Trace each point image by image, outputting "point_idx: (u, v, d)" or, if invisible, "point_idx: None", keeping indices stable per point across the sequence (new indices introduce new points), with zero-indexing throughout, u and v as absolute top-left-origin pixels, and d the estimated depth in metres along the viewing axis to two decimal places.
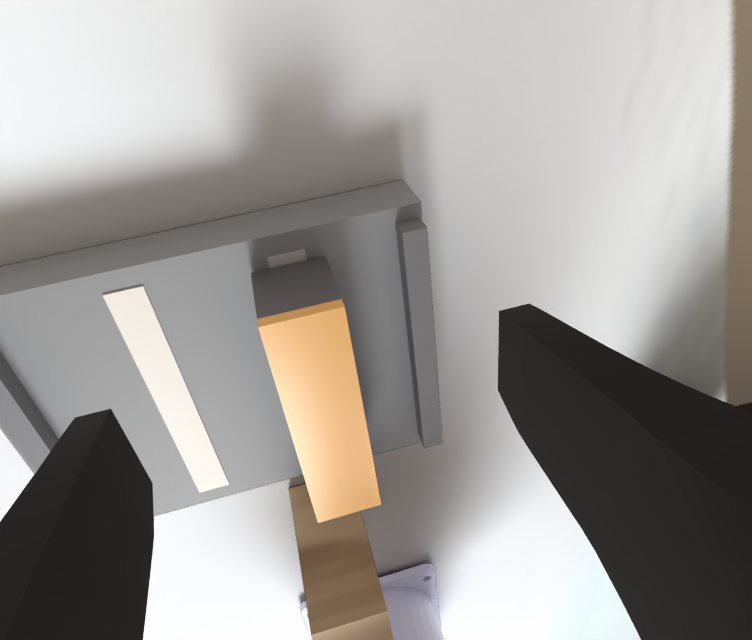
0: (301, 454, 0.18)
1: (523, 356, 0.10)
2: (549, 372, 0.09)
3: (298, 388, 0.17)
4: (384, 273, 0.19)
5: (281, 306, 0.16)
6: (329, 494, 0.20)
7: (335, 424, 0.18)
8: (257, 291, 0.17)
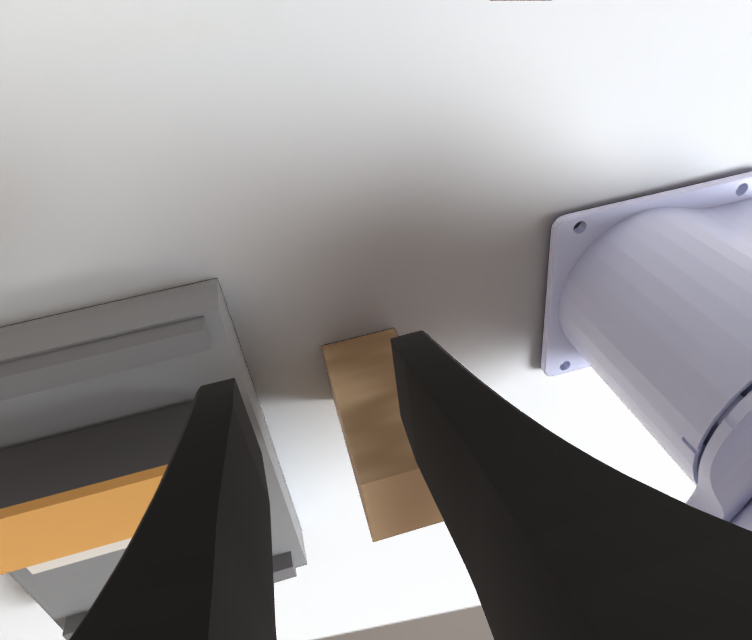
0: (121, 537, 0.18)
1: (408, 386, 0.10)
2: (424, 405, 0.09)
3: (24, 554, 0.18)
4: None
5: None
6: None
7: (75, 522, 0.17)
8: None
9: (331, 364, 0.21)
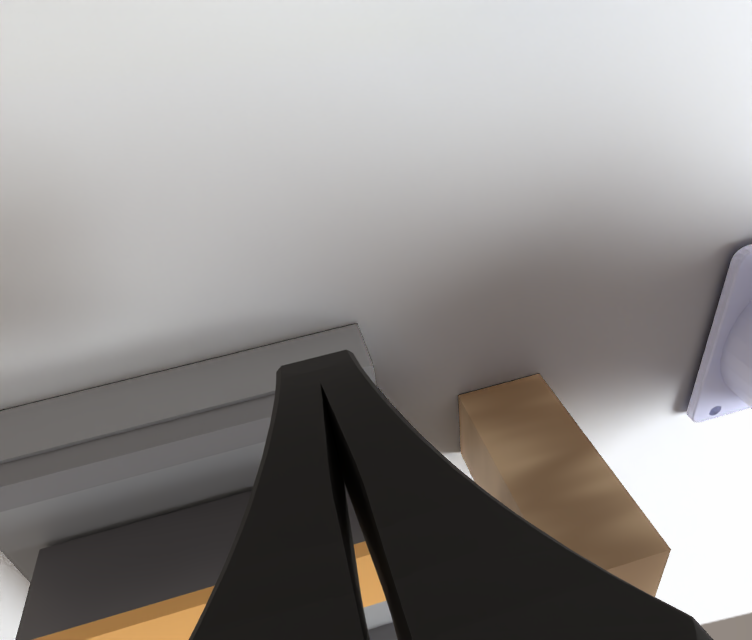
0: None
1: (327, 408, 0.09)
2: (336, 429, 0.09)
3: None
4: None
5: None
6: None
7: None
8: None
9: (476, 419, 0.18)
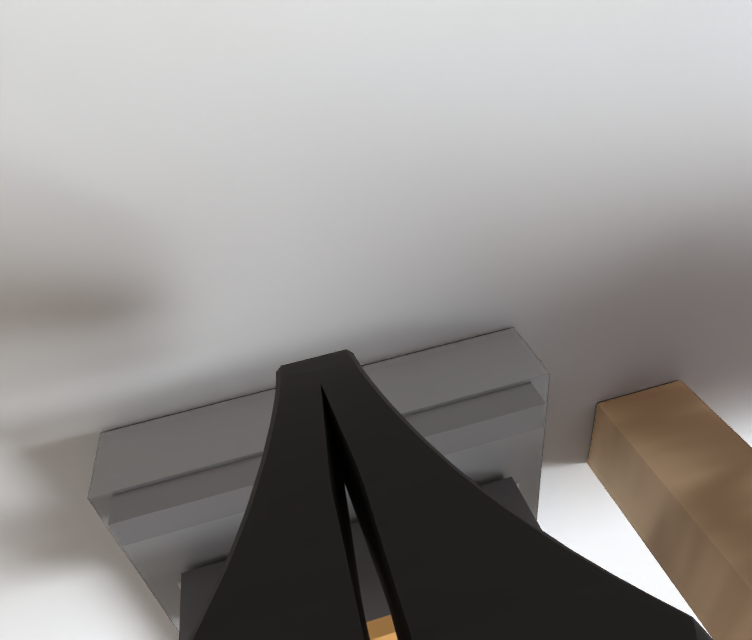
0: None
1: (327, 408, 0.09)
2: (336, 429, 0.09)
3: None
4: None
5: None
6: None
7: None
8: None
9: (625, 429, 0.17)
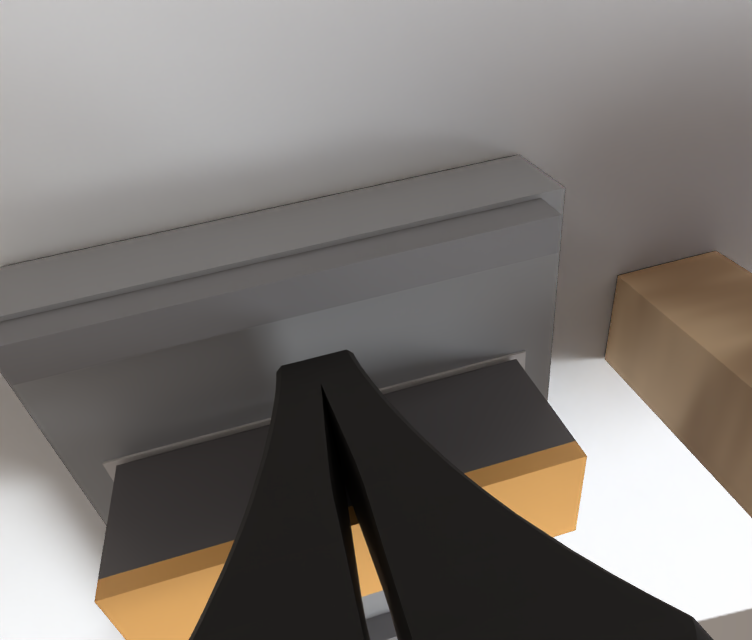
0: None
1: (327, 408, 0.09)
2: (336, 429, 0.09)
3: None
4: (135, 356, 0.11)
5: None
6: None
7: None
8: None
9: (652, 298, 0.14)
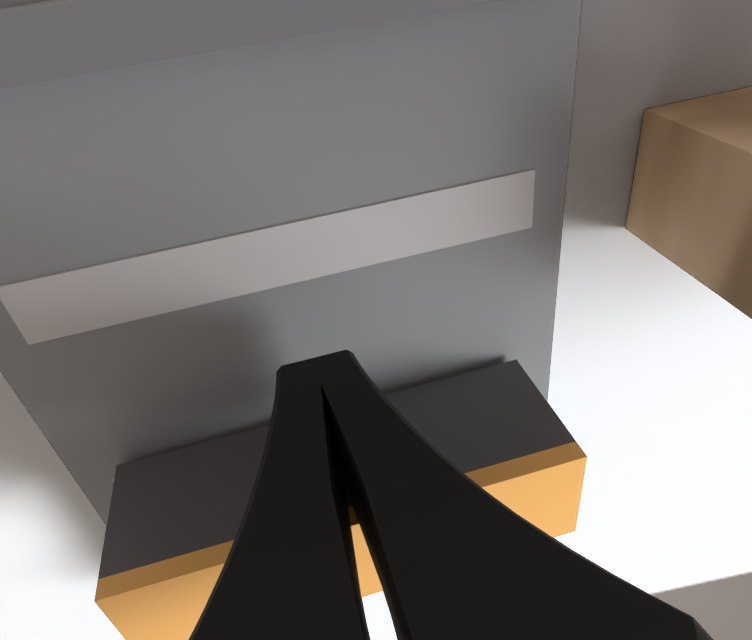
0: None
1: (327, 408, 0.09)
2: (336, 429, 0.09)
3: None
4: (21, 119, 0.08)
5: None
6: None
7: None
8: None
9: (689, 122, 0.12)
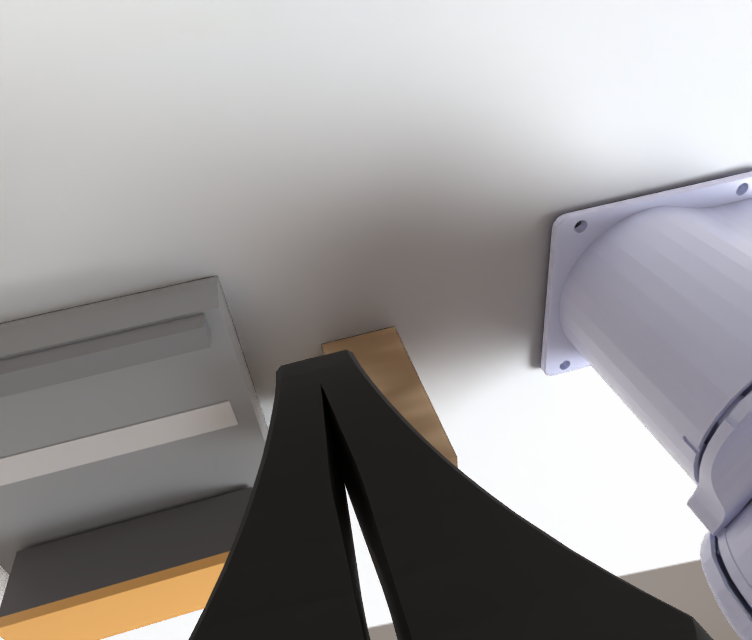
0: (172, 615, 0.21)
1: (327, 408, 0.09)
2: (337, 429, 0.09)
3: (91, 632, 0.20)
4: None
5: None
6: None
7: (135, 605, 0.20)
8: None
9: None
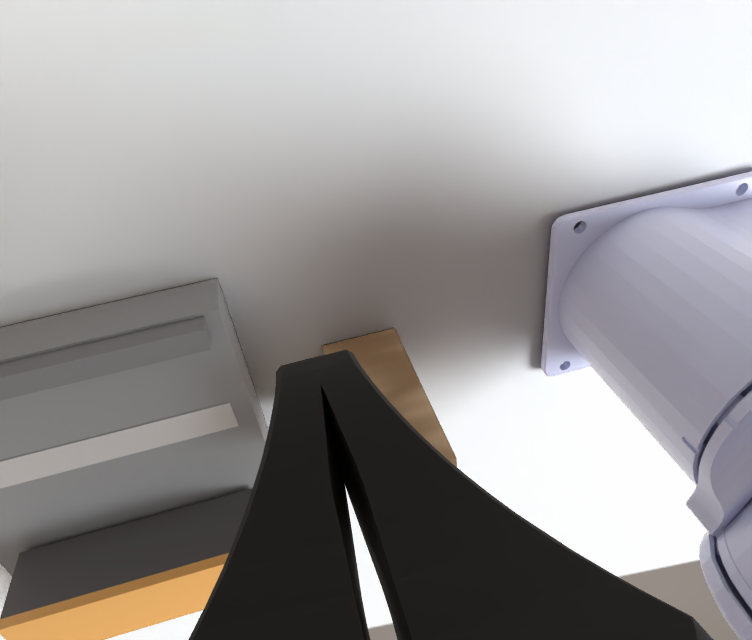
0: (174, 616, 0.21)
1: (327, 408, 0.09)
2: (336, 429, 0.09)
3: (93, 633, 0.21)
4: None
5: None
6: None
7: (137, 606, 0.20)
8: None
9: None
